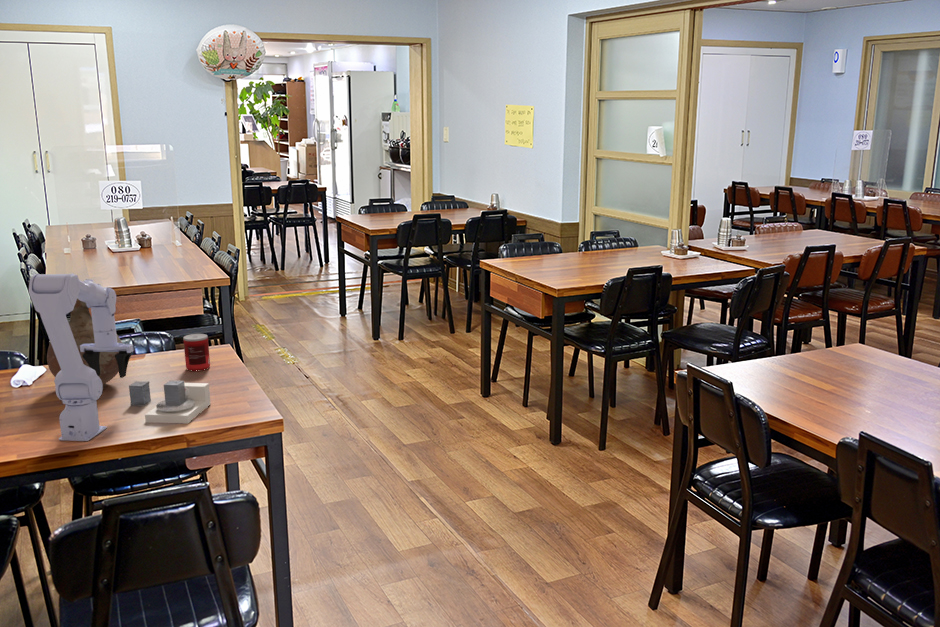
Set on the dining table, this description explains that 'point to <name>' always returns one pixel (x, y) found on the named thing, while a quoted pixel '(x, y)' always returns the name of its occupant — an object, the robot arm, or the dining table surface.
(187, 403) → the pan
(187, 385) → the scale
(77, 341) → the jug
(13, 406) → the dining table surface
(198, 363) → the canned food
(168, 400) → the block
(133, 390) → the block
